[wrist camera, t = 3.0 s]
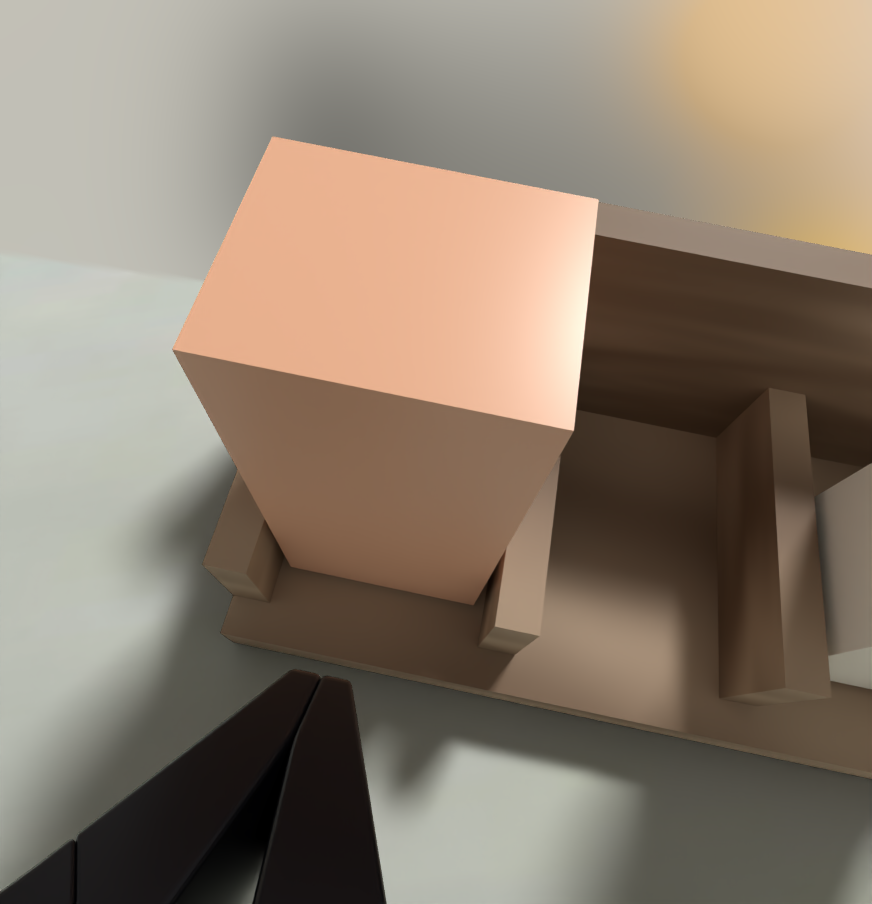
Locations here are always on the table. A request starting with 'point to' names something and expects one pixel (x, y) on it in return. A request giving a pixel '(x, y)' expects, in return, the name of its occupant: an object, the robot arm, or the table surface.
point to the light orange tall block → (393, 360)
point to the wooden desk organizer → (645, 513)
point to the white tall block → (847, 576)
